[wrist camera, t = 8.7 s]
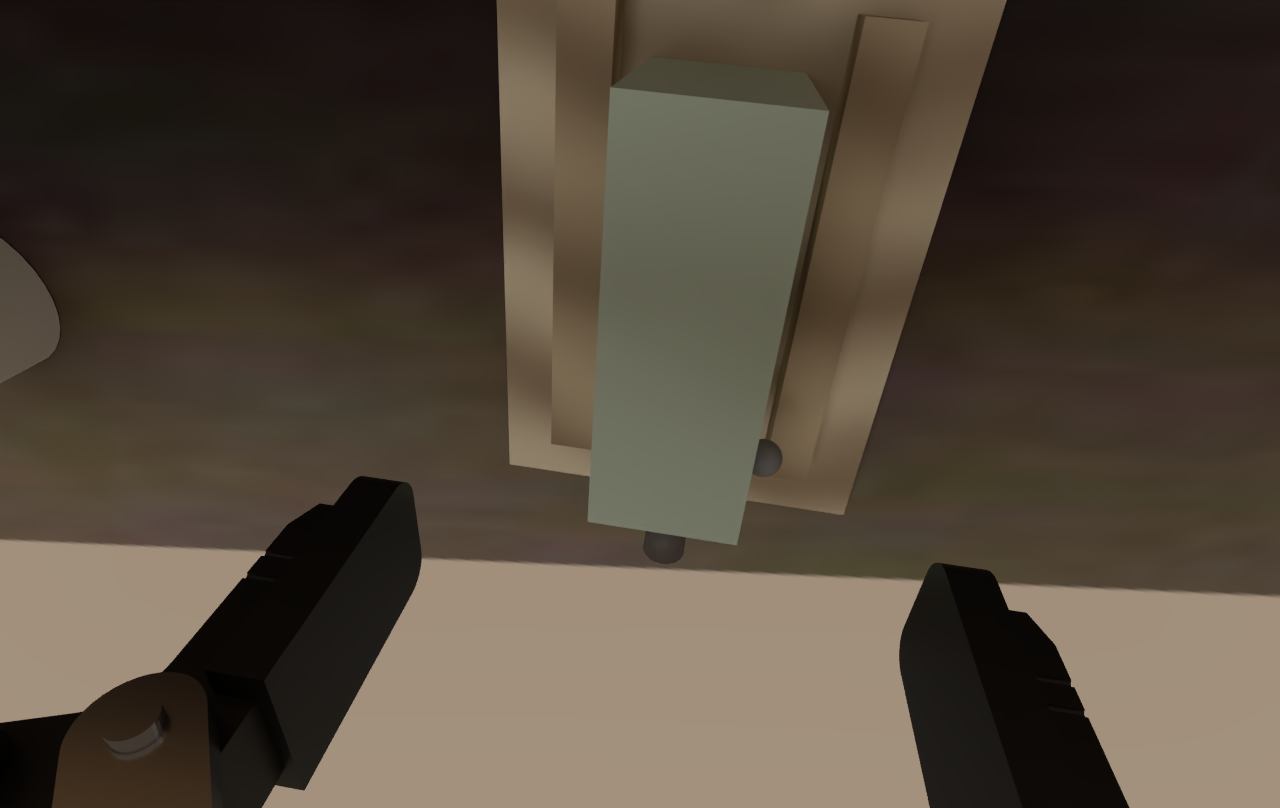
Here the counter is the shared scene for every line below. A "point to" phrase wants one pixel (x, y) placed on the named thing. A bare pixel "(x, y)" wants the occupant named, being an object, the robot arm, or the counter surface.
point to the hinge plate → (835, 225)
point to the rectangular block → (696, 287)
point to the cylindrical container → (24, 315)
